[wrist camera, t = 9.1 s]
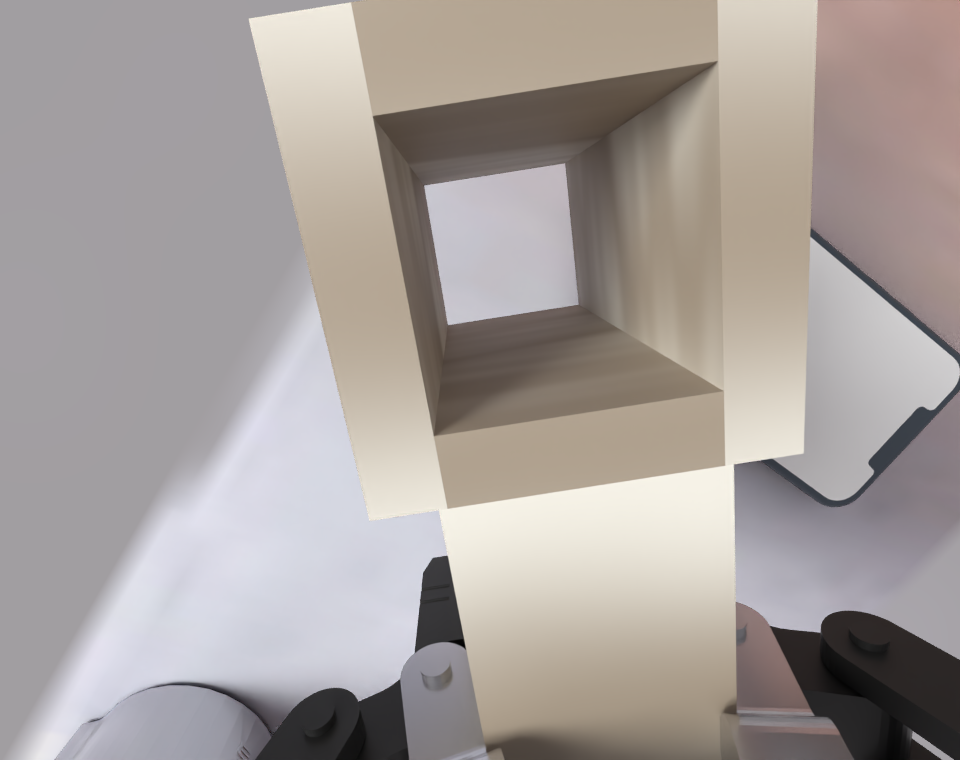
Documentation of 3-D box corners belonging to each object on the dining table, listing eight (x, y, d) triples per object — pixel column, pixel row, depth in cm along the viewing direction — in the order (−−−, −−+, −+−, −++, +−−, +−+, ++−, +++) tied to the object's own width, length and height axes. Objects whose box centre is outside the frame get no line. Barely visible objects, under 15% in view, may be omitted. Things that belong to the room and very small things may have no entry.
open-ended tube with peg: (375, 148, 11) (248, 19, 4) (601, 112, 11) (819, -72, 4) (463, 601, 14) (466, 920, 8) (636, 574, 14) (791, 872, 8)
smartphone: (562, 320, 23) (817, 504, 25) (569, 325, 21) (840, 521, 24) (692, 143, 21) (950, 361, 24) (711, 135, 19) (985, 368, 22)
